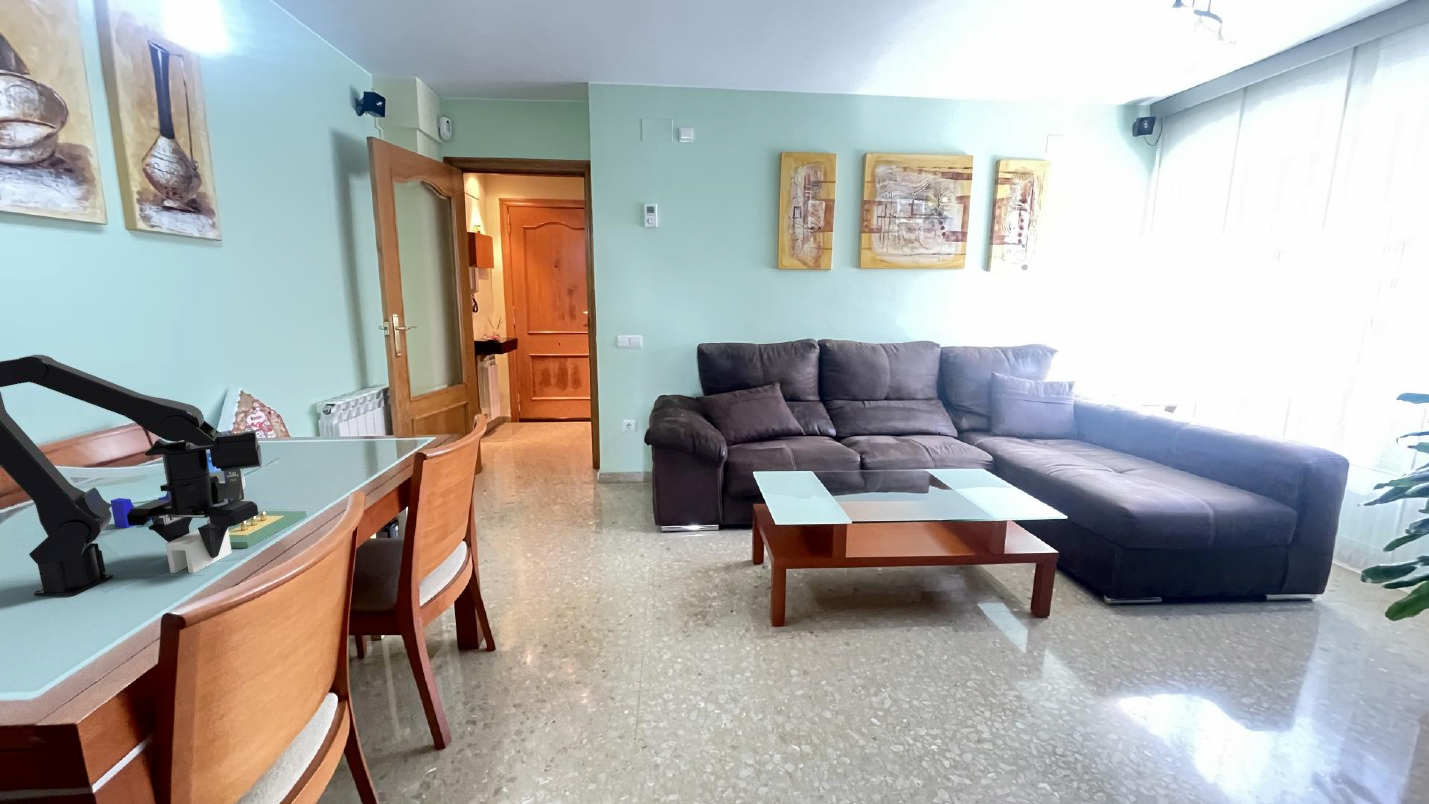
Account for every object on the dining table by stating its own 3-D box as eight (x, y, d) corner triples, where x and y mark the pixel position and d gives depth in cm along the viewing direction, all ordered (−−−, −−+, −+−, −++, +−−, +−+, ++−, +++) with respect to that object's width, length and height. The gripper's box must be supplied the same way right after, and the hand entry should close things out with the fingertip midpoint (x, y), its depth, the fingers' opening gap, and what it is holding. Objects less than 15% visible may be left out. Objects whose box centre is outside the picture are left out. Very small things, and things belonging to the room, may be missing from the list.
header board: (248, 548, 108) (245, 532, 108) (196, 547, 108) (193, 531, 107) (306, 516, 124) (304, 502, 123) (261, 515, 124) (259, 502, 123)
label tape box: (195, 510, 126) (186, 458, 124) (198, 504, 130) (190, 453, 127) (245, 503, 131) (238, 452, 129) (247, 498, 134) (240, 448, 132)
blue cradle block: (173, 506, 129) (169, 481, 128) (189, 508, 128) (185, 483, 127) (109, 527, 117) (104, 499, 116) (126, 528, 116) (121, 501, 115)
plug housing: (193, 573, 98) (188, 544, 97) (170, 573, 98) (165, 543, 97) (231, 552, 106) (227, 525, 105) (210, 552, 106) (206, 525, 105)
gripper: (275, 462, 107) (285, 539, 110) (177, 461, 107) (190, 537, 110) (226, 481, 96) (238, 565, 99) (117, 480, 96) (132, 564, 99)
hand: (201, 557), depth 102 cm, fingers open, 5 cm apart
